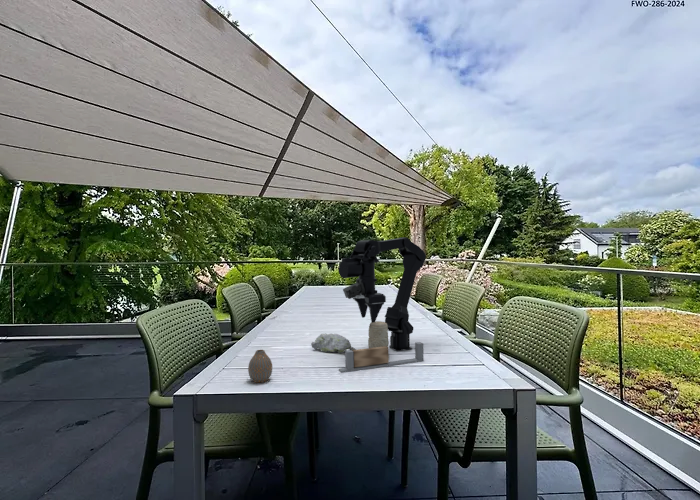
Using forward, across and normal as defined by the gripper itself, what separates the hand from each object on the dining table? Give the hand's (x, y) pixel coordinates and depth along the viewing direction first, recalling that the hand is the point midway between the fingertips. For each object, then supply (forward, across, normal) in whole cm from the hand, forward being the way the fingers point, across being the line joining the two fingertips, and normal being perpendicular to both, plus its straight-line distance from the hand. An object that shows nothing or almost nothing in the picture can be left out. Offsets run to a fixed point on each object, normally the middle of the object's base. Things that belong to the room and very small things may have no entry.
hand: (368, 319), depth 132 cm
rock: (+13, -11, -10) cm, 20 cm away
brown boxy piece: (+12, +9, -4) cm, 16 cm away
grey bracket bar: (+13, +12, 0) cm, 17 cm away
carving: (+13, +1, +3) cm, 14 cm away
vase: (+12, +11, -39) cm, 42 cm away
